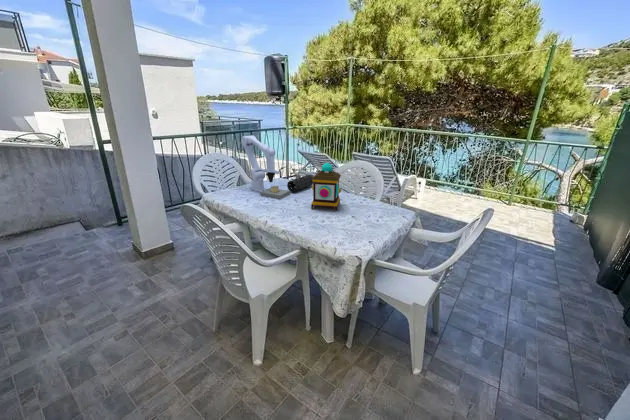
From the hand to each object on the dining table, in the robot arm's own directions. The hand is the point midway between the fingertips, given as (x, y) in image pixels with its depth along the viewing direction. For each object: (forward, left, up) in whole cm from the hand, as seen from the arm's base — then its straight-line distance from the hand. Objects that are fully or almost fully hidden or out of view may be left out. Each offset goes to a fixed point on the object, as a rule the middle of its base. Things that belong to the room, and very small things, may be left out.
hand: (271, 182), depth 213 cm
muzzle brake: (+14, +23, -10) cm, 29 cm away
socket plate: (+5, -2, -9) cm, 11 cm away
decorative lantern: (+50, -6, -10) cm, 51 cm away
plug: (+5, -2, -9) cm, 11 cm away
